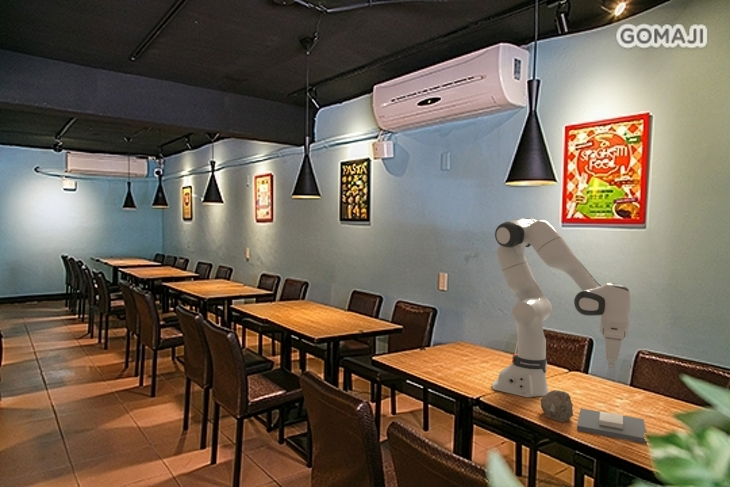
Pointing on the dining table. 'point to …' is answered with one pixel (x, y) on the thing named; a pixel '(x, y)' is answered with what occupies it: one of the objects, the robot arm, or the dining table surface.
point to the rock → (557, 405)
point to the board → (630, 431)
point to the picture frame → (611, 420)
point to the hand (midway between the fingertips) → (610, 366)
